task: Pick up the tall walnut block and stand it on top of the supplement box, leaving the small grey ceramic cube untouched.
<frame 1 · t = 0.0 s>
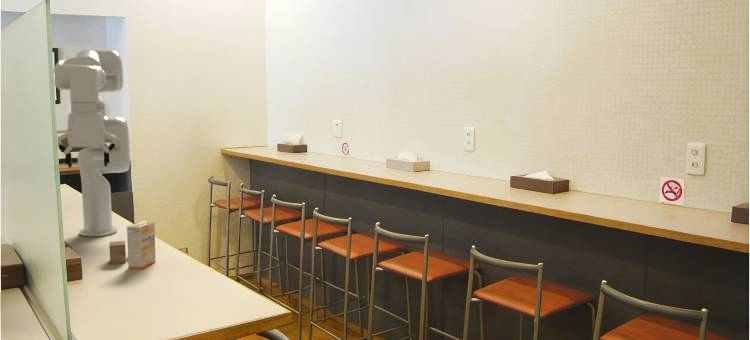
hand: (88, 166, 190), 31 cm above the table, fingers open, 9 cm apart
supplement box: (142, 265, 198), on the table
grey ceramic cube: (138, 256, 207), on the table
walnut block: (118, 261, 201), on the table
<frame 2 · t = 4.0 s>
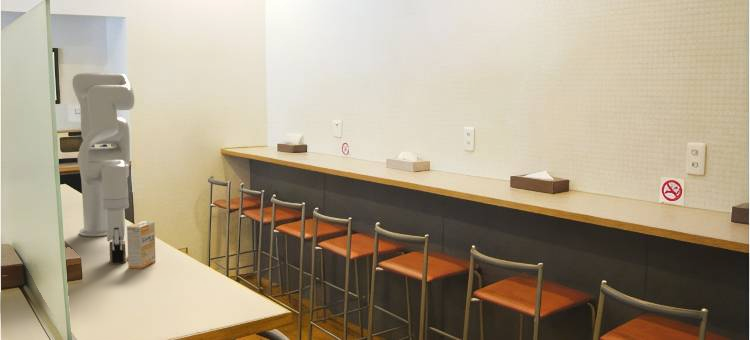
hand: (118, 259, 201), 1 cm above the table, fingers closed on walnut block, 4 cm apart
walnut block: (118, 261, 201), on the table, touching gripper
everything else where it was.
when the fingers open (15 cm above the table, at t = 8.7 s): walnut block drops 1 cm, resting on supplement box.
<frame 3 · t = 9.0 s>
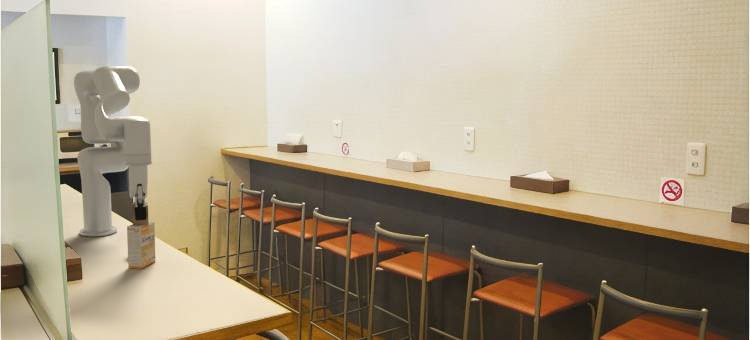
hand: (140, 216, 196), 15 cm above the table, fingers open, 7 cm apart
supplement box: (142, 265, 198), on the table, touching walnut block
walnut block: (140, 223, 197), point 13 cm above the table, touching supplement box
everything else where it was.
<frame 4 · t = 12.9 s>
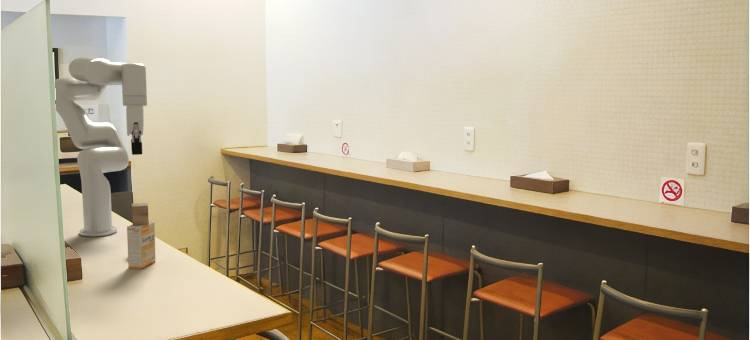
hand: (136, 152, 214), 32 cm above the table, fingers open, 9 cm apart
nothing on the table moved.
at the end: walnut block touching supplement box; walnut block point 13.0 cm above the table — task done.
